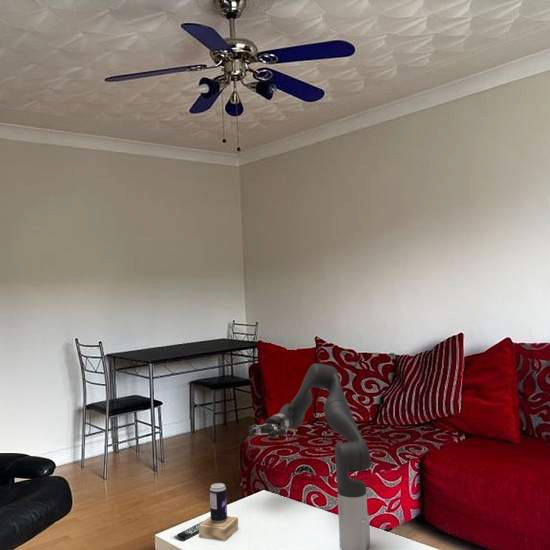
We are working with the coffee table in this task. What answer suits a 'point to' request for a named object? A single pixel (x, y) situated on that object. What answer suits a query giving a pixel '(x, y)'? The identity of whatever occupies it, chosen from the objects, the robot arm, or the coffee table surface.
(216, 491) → the beverage can
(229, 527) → the base block
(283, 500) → the coffee table surface
